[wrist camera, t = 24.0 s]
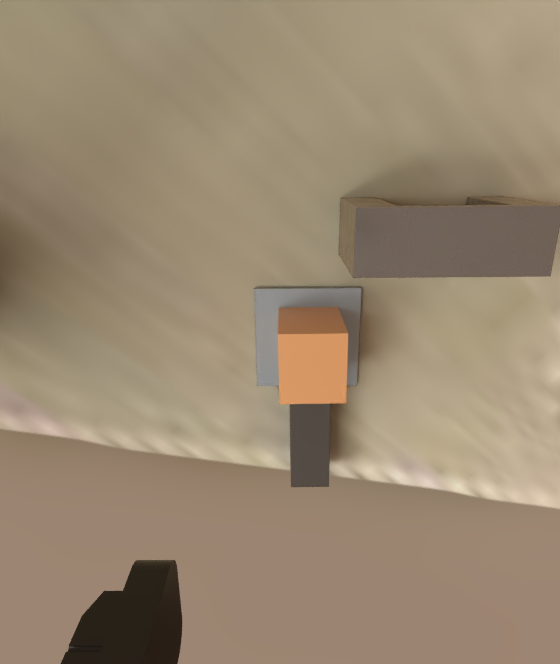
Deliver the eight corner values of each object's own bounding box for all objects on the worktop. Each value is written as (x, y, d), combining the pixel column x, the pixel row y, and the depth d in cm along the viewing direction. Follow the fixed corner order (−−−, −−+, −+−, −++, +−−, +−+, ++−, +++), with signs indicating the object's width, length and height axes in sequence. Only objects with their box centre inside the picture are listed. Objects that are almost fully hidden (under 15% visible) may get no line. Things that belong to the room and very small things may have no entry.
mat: (257, 383, 39) (257, 385, 38) (254, 287, 36) (254, 289, 36) (356, 383, 39) (356, 385, 38) (360, 287, 36) (361, 288, 36)
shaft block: (338, 254, 35) (353, 277, 28) (340, 197, 34) (356, 207, 27) (495, 252, 35) (550, 276, 28) (503, 196, 34) (563, 205, 27)
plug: (281, 464, 41) (281, 513, 35) (278, 307, 36) (277, 334, 31) (334, 464, 41) (342, 512, 35) (338, 306, 36) (348, 333, 30)
